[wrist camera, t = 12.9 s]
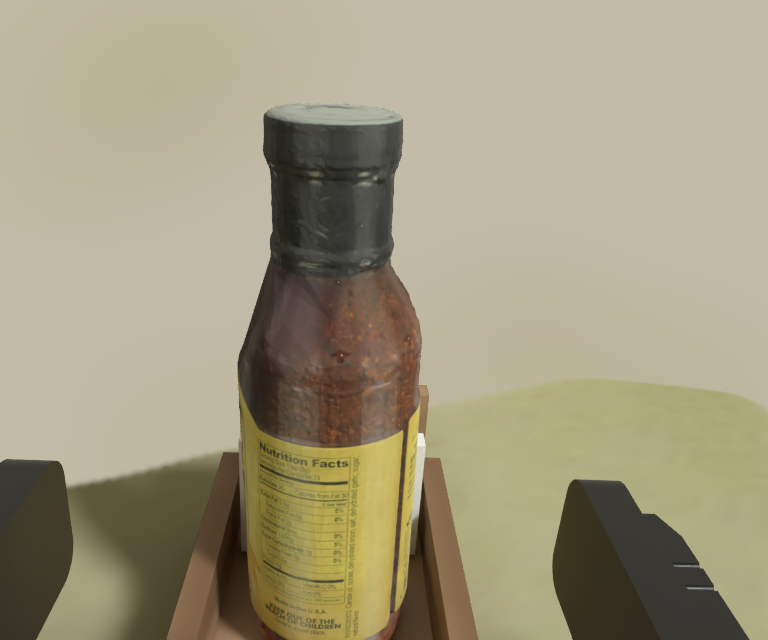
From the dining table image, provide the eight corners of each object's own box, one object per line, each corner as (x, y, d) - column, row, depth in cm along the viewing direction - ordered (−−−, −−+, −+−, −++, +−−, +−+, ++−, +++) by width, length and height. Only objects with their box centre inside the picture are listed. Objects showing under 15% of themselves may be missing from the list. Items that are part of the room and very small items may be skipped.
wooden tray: (115, 918, 19) (82, 713, 16) (220, 522, 34) (215, 378, 31) (504, 911, 20) (548, 713, 16) (437, 526, 35) (453, 386, 32)
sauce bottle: (321, 540, 32) (336, 95, 24) (433, 608, 28) (491, 115, 21) (210, 625, 27) (183, 100, 19) (329, 720, 23) (354, 128, 16)
